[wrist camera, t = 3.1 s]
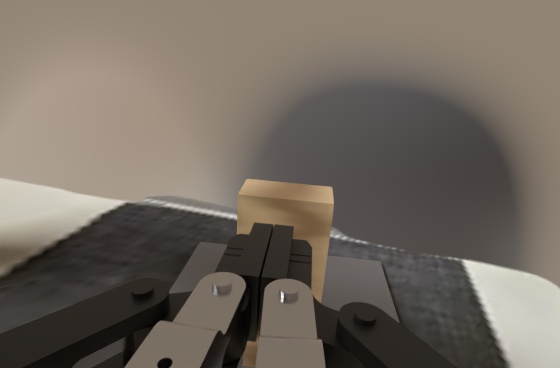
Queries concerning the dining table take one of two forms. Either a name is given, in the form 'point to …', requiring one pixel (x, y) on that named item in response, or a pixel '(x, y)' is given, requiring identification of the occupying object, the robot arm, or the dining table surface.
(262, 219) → the oak card block
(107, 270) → the dining table surface
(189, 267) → the charcoal placemat
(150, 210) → the dining table surface
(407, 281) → the dining table surface
